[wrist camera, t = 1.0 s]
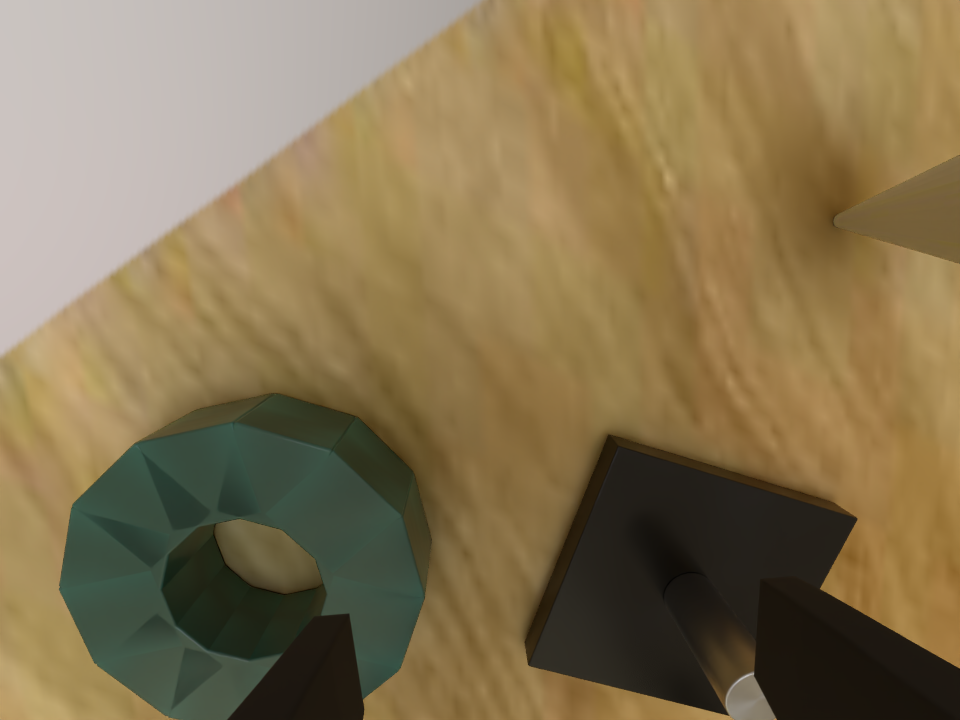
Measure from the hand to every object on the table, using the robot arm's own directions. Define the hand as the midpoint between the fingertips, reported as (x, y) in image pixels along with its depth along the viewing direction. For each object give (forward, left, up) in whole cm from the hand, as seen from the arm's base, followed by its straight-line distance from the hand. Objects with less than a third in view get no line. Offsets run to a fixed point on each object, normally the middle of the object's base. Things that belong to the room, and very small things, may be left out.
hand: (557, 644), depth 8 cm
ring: (-7, +7, -10) cm, 14 cm away
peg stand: (-4, -9, -10) cm, 14 cm away
